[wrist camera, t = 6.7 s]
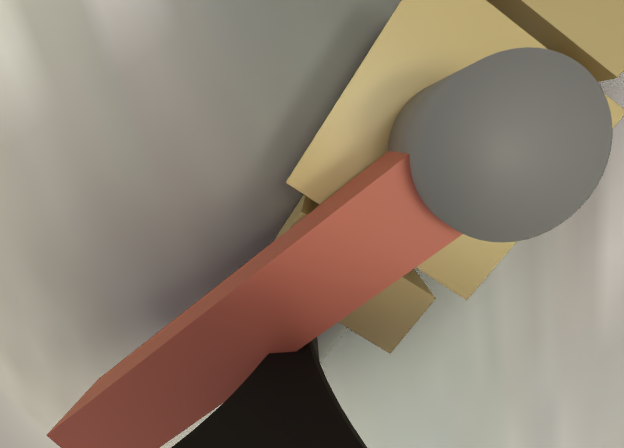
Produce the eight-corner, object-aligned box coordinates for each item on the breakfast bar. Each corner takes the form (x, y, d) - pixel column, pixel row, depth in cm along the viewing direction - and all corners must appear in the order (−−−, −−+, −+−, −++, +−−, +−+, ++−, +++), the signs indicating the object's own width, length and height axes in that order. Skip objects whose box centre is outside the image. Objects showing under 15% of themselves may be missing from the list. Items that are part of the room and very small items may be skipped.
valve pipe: (549, -229, 9) (708, -484, 5) (695, -96, 10) (926, -242, 6) (199, 321, 13) (153, 391, 10) (316, 388, 14) (315, 478, 10)
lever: (474, 47, 7) (551, -1, 5) (545, 158, 8) (646, 166, 5) (84, 361, 9) (4, 437, 7) (161, 432, 10) (111, 524, 7)
